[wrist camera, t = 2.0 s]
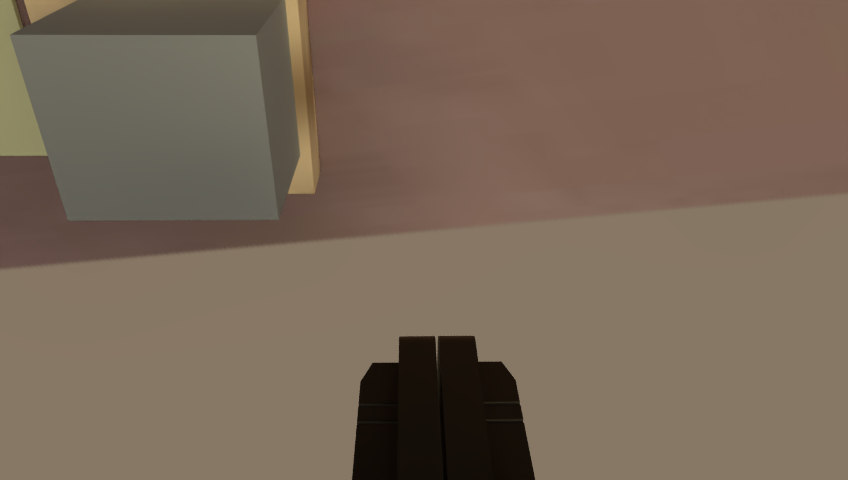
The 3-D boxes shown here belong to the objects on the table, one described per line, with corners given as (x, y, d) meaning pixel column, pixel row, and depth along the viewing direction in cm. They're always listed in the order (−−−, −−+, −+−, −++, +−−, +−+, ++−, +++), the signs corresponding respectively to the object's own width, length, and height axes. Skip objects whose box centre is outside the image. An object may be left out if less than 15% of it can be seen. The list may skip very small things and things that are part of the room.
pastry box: (85, -5, 27) (9, 34, 22) (284, -4, 27) (256, 35, 22) (124, 155, 30) (68, 220, 25) (300, 155, 31) (278, 219, 26)
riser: (37, -67, 28) (6, -59, 26) (301, -66, 28) (292, -57, 26) (102, 171, 34) (81, 194, 31) (320, 170, 34) (314, 193, 32)
